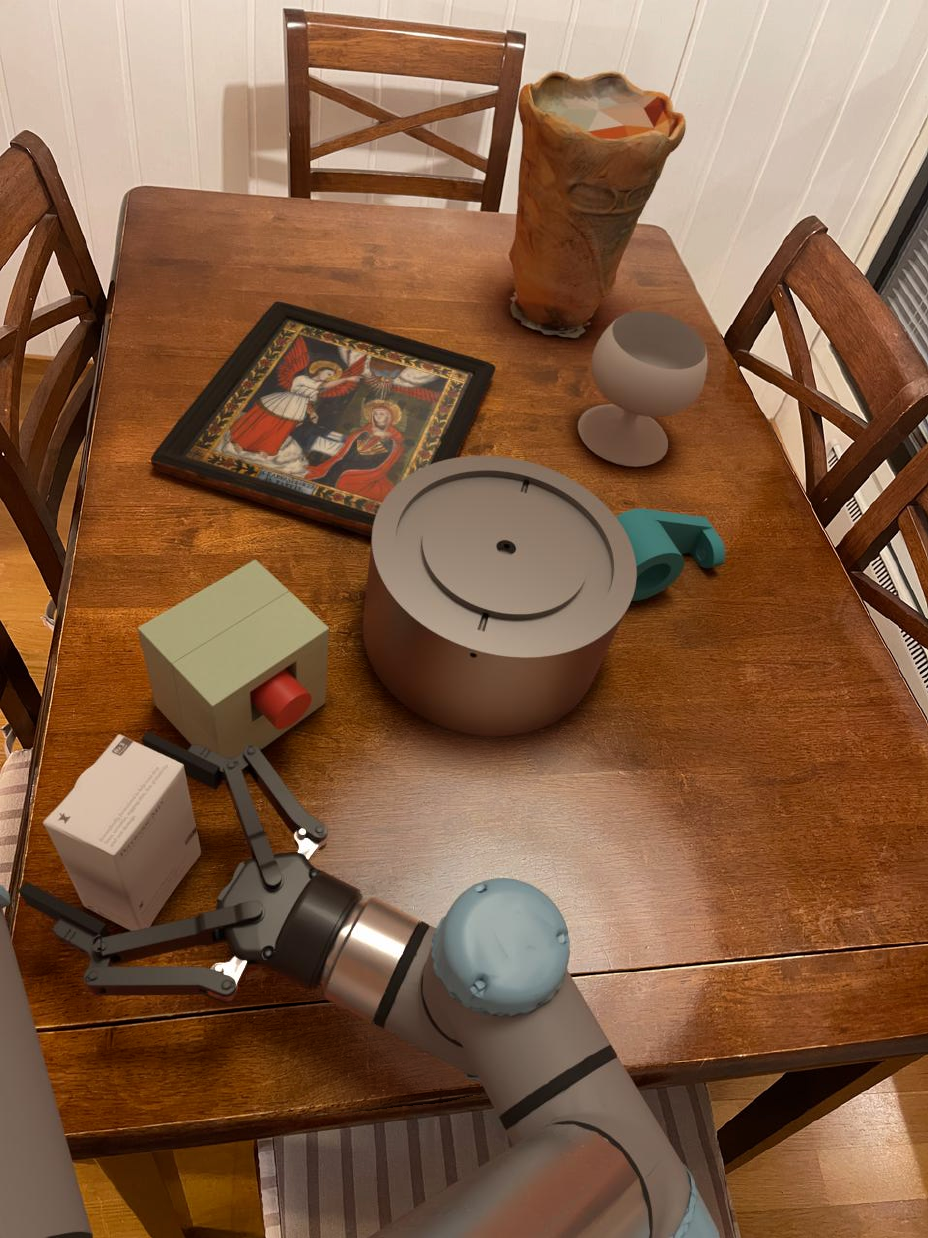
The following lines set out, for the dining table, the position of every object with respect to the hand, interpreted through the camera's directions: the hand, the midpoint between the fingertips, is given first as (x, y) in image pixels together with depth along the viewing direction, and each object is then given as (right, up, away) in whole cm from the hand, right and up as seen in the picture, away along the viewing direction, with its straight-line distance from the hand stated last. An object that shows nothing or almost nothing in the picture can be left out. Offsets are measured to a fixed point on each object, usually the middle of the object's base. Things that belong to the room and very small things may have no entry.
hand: (89, 813), depth 66 cm
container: (+30, +13, +27) cm, 42 cm away
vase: (+41, +61, +67) cm, 99 cm away
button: (+11, +7, +11) cm, 17 cm away
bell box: (+7, +6, +17) cm, 20 cm away
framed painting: (+12, +39, +44) cm, 60 cm away
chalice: (+49, +38, +50) cm, 80 cm away
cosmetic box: (+2, -7, +6) cm, 9 cm away
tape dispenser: (+50, +20, +36) cm, 65 cm away
